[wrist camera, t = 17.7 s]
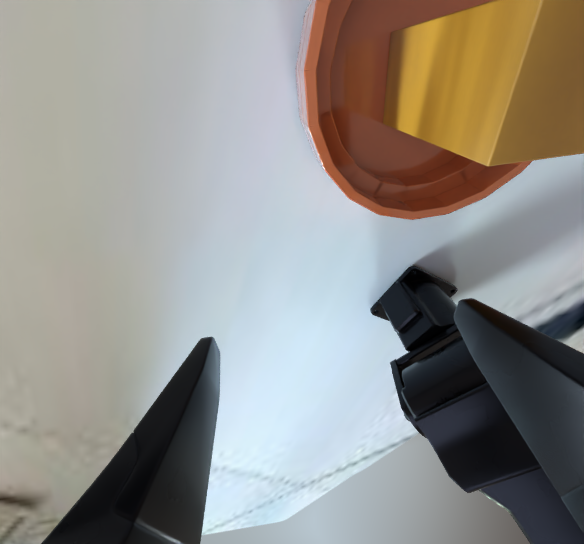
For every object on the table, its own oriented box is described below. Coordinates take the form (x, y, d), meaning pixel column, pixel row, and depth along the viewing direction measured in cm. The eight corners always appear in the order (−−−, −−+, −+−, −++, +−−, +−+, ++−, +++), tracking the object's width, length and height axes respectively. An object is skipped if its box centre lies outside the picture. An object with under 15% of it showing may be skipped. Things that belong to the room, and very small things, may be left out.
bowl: (604, 12, 16) (693, -3, 12) (418, 226, 23) (444, 251, 20) (420, -263, 10) (495, -418, 7) (253, 132, 17) (252, 146, 14)
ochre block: (470, 21, 15) (719, -39, 7) (450, 115, 18) (611, 150, 10) (390, 31, 15) (547, -18, 7) (382, 124, 17) (487, 167, 9)
